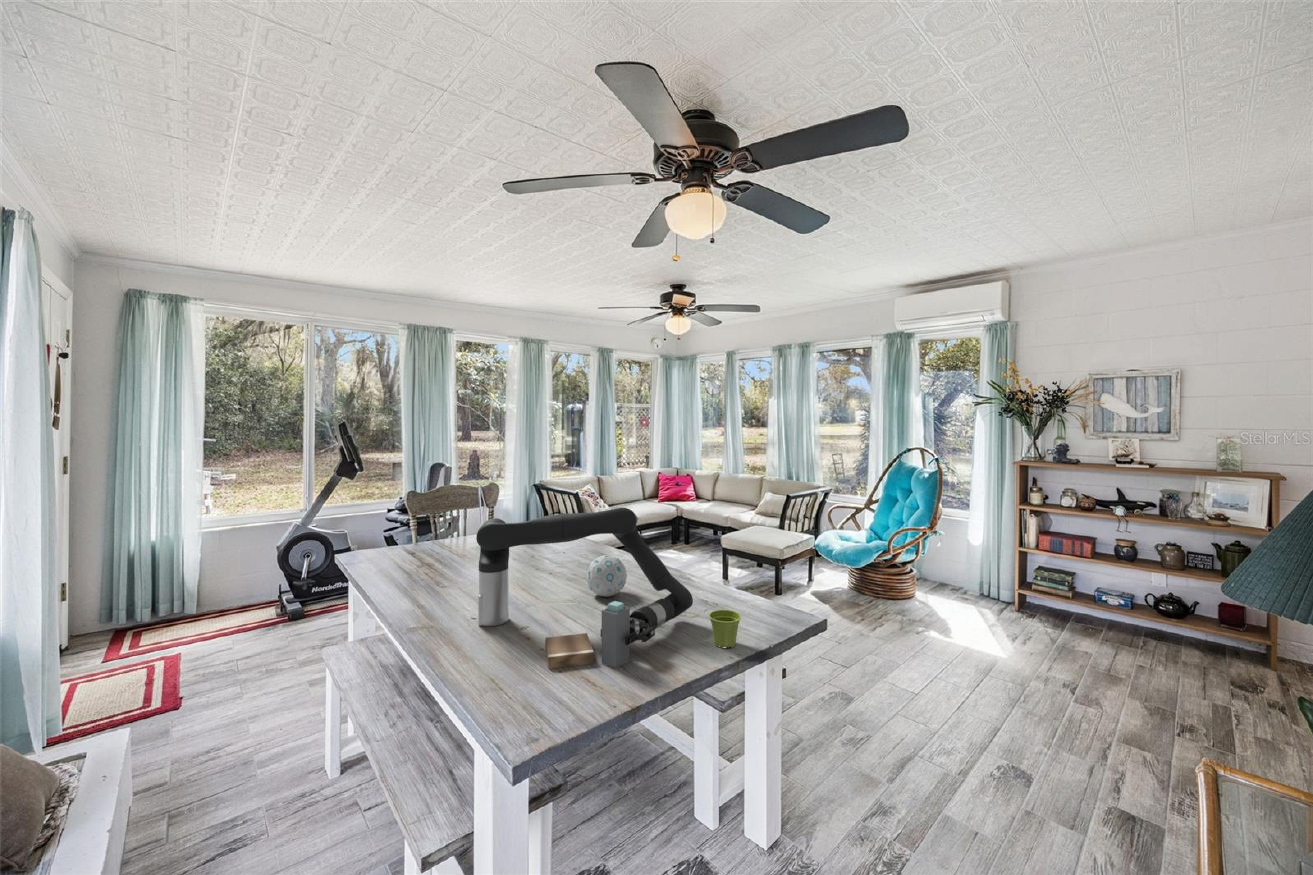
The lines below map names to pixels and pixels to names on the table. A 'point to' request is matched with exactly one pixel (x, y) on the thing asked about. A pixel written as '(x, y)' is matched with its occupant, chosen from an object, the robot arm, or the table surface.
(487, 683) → the table surface
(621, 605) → the block
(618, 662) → the carrier
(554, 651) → the block
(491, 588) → the robot arm
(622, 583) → the puzzle ball
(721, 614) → the plant pot
